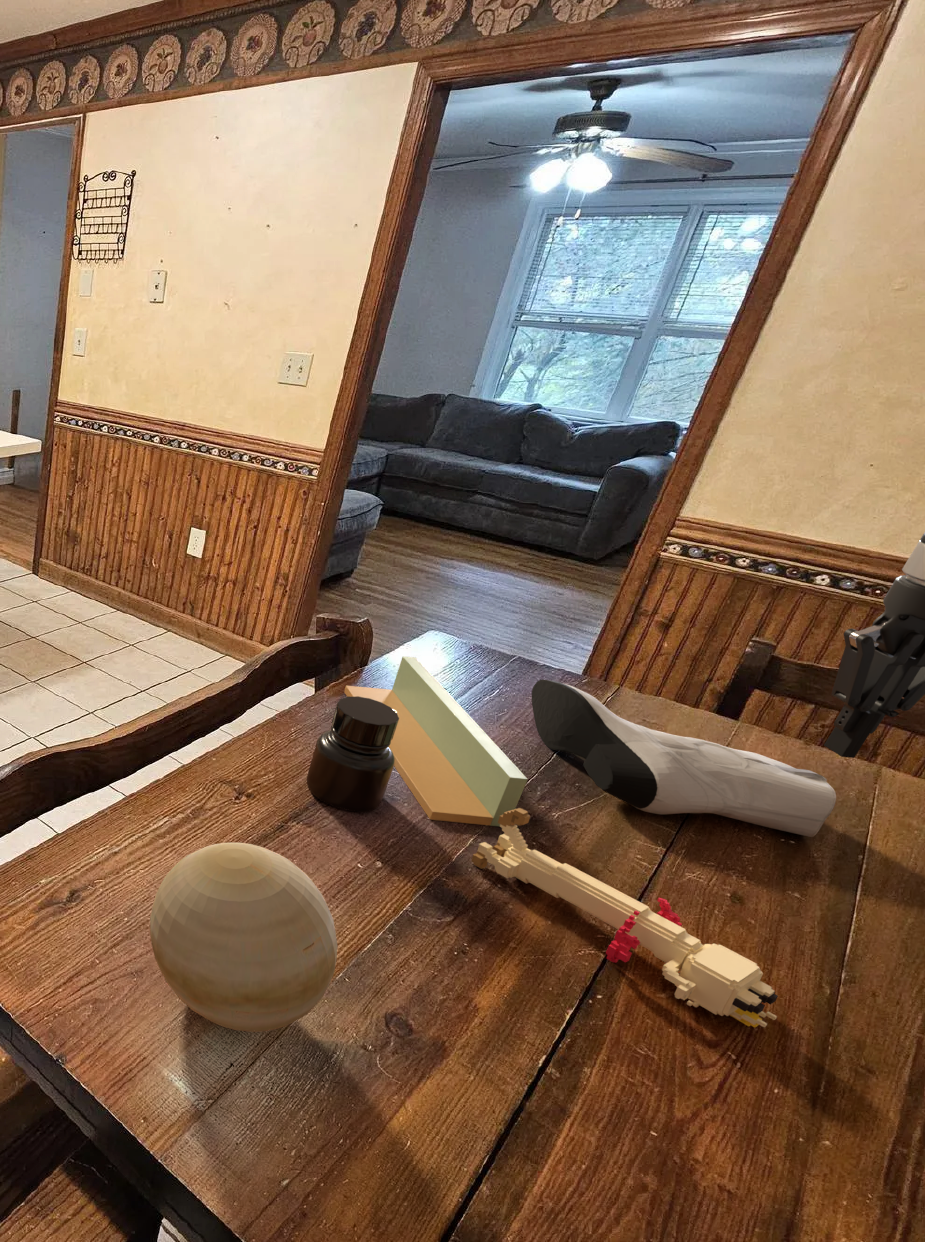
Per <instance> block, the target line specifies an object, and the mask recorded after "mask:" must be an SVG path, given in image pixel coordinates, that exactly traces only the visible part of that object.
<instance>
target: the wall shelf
mask: <svg viewBox="0 0 925 1242" xmlns="http://www.w3.org/2000/svg"><path fill="white" fill-rule="evenodd" d="M343 692H344V694H345V697H348V696H349V697H356V696H359V697H364V698H370V699H373V700H376V701H379V702H382V703H383V704H385V705H387V706H389V707H391V708H392V709H393V710H394V711H395V712H397V714H398V717H399V721H398V724H397V727H396V730H395V733H394V736H393V739H392V740H391V744H390V746H389V748H390V749H391V751H392V752H393V755H394V758H395V763H394V767H393V768H394V769H395V770H396V771H397V773H398V775H399V776H400V777H401V779H402V781H403V782H404V784H405V785H406V786H407V788H408V789H409V790H410V792H411V793H412V795H413V797H414V799H416V801H417V802H418V804H419V806H420V807H421V808H422V810H423V811H424V813H425V814H426V817H428V819H429V820H431V821H440V822H450V823H460V824H461V823H462V824H472V825H481V826H491V827H500V824H499V823H498V820H499V817H500V816H501V815H503V814H504V812H507V811H510V810H514V809H517V806H518V804H519V801H520V799H521V796H522V795H523V792H524V790H525V787H526V785H527V782H528V780H529V779H528V778H527V776H526V775H525V774H523V772H522V771H521V770H520V769H519V768H518V767H517V766H516V764H515V763H514V762H513V761H512V760H511V759H510V758H509V757H508V755H506V754H505V752H503V750H501V748H500V747H499V746H498V745H497V744H496V742H495V741H493V739H491V737H490V736H489V735H488V734H487V733H486V732H485V731H484V730H483V729H482V727H481V726H479V724H478V723H477V722H476V721H475V720H474V719H473V718H472V717H471V716H470V715H469V713H468V712H467V711H465V709H464V708H463V707H462V706H461V705H460V704H459V703H458V701H456V700H455V698H454V697H453V696H452V694H450V693H449V691H447V690H446V689H445V688H444V686H443V685H442V684H441V683H440V682H439V681H438V679H436V678H435V676H434V675H432V673H431V672H430V670H428V669H427V668H426V666H424V665H423V663H422V662H421V661H420V660H419V659H418V658H417V657H416V656H415V657H414V656H402V657H401V660H400V663H399V666H398V669H397V673H396V676H395V679H394V682H393V685H392V689H389V688H380V687H379V688H378V687H368V686H367V687H365V686H355V685H345V688H344V690H343Z"/></svg>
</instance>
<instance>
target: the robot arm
mask: <svg viewBox="0 0 925 1242" xmlns="http://www.w3.org/2000/svg"><path fill="white" fill-rule="evenodd" d="M901 570H902V572H903V573H904V574H903V575H900V576H898V577H896V578H895V580H894V581H893V583H892V584H891V586H890V588H889V590H888V591H887V593H886V595H885V596H884V598H883V600H882V603H883V604H884V605H883V606H884V611H883V612H882V614H881V615H880V616H878V617H877V618H875V619H874V621H873V622H872V625H871V626H868V627H866V628H862V629H860V630H857V629H855V628H848V629H846V630H845V631H844V632H843V639H844V645H845V646H844V650H843V654H842V657H841V660H840V663H839V667H838V670H837V674H836V677H835V680H834V683H833V684H834V685H833V687H832V690H831V695H830V696H831V697H833V698H835V699H836V700H838V701H840V702H842V703H843V707H842V708H841V710H840V712H839V714H838V715H837V716H836V719H835V720H834V721H833V726H834V727H833V730H831V732H830V734H829V736H828V737H827V739H826V741H825V743H824V744H823V746H824V747H825V748H826V749H829V750H830V751H832V752H833V753H835V754H836V755H838V756H840V757H842V758H850V759H854V758H855V757H856V756H857V755H858V753H859V751H860V749H861V748H862V746H863V745H864V743H865V742H866V741H867V739H868V737H869V736H870V735H872V734H873V733H874V732H875V731H876V730H877V729H878V727H879V726H880V724H881V723H882V721H883V719H884V718H885V717H886V716H888V717H890V718H895V717H897V716H899V715H900V713H899V712H897V711H898V710H900V711H903V712H907V711H910V710H911V709H912V708H913V707H914V706H915V705H916V704H917V703H918V702H919V701H920V700H921V699H922V698H923V697H924V696H925V532H924V533H923V534H922V535H921V537H920V539H919V541H918V542H917V543H916V545H915V547H914V549H913V550H912V552H911V554H910V555H909V557H908V558H907V560H906V562H905V564H904V565H903V567H902V568H901ZM896 710H897V711H896Z"/></svg>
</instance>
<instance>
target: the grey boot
mask: <svg viewBox="0 0 925 1242" xmlns="http://www.w3.org/2000/svg"><path fill="white" fill-rule="evenodd" d="M531 705H532V713H533V718H534V723H535V727H536V730H537V733H538V736H539V737H540V739H541V741H542V742H543V744H544V745H545V746H546V747H547V748H549V749H550V750H552V751H557V752H562V753H568V754H573V755H574V756H576V757H577V758H578V759H581V760H582V761H583V764H582V767H584V770H585V771H586V773H587V775H588V776H589V777H590V778H591V779H592V780H593V782H594V784H595V786H596V787H598V788H600V789H601V790H602V791H603V792H605V793H607V794H609V795H611V796H613V797H615V798H617V799H619V800H620V801H622V802H624V803H626V804H628V805H630V806H631V807H634V808H636V809H637V810H639V811H643V812H645V813H650V814H656V815H676V814H714V815H718V816H721V817H726V818H730V819H734V820H738V821H741V822H744V823H748V824H753V825H756V826H762V827H765V828H769V829H772V830H773V829H774V830H778V831H782V832H787V833H791V834H795V835H800V836H804V837H808V838H813V837H815V836H816V835H817V834H818V832H819V831H820V830H821V828H822V827H823V824H824V823H825V822H826V820H827V819H828V818H829V816H830V815H831V813H833V810H834V808H835V806H836V802H837V794H836V791H835V788H833V787H832V786H831V785H830V783H828V779H827V778H826V777H825V776H823V775H821V774H820V773H817V772H814V771H812V770H809V769H805V768H796V767H793V766H791V765H789V764H787V763H785V762H782V761H779V760H776V759H773V758H771V757H768V756H765V755H763V754H760V753H756V752H754V751H753V752H752V751H748V750H741V749H736V748H732V747H729V746H725V745H722V744H720V743H718V742H717V743H716V742H712V741H709V740H706V739H705V740H704V739H701V738H695V737H691V736H682V735H676V734H671V733H668V732H665V731H660V730H656V729H652V728H648V727H646V726H644V725H641V724H637V723H634V722H632V721H630V720H627V719H624V718H623V717H620V716H618V715H617V714H615V713H614V712H612V711H611V710H610V709H609V708H608V707H607V706H606V705H604V704H603V703H602V702H601V701H600V700H599V699H597V698H596V697H594V696H593V695H592V694H590V693H588V692H586V691H583V690H581V689H579V688H578V687H575V686H572V685H570V684H566V683H562V682H560V681H556V680H552V679H551V680H550V679H543V678H542V679H539V680H537V681H536V683H535V684H533V686H532V689H531Z"/></svg>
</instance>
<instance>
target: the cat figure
mask: <svg viewBox="0 0 925 1242" xmlns="http://www.w3.org/2000/svg"><path fill="white" fill-rule="evenodd" d="M530 818H531V815H529V811H527V810H526V809H524V808H521V807H518V808H515V809H514V810H510V811H507V812H504V814H503V815H501V816H500V817H499V820H498V823H499V824H500V826H499V828H501V831H502V832H503V834H500V835H499V836H498V839H497V842H496V844H495V845H491V844H489V843H487V842H486V841H483V842H481V843H478V847H477V850H476V852H475V853H473V854H472V857H471V860H470V861H471V863H473V865H474V866H475V867H477V868H479V869H480V870H481V869H482V870H483V869H485V868H487V866H488V864H490V865H492V866H494V868H493V869H494V870H495V872H496V873H497V875H500V876H502V877H504V878H505V879H513V878H516V879H518V880H519V881H521V882H523V883H525V884H531V885H533V886H535V887H536V888H538V889H540V890H542V891H544V892H545V893H547V894H549V895H551V896H552V897H555V898H556V899H560V898H561V899H563V900H565V901H567V902H568V903H570V904H572V905H573V906H575V907H577V908H579V909H581V910H582V911H584V912H586V913H587V914H590V915H592V916H593V917H595V918H597V919H598V920H600V921H602V922H604V923H606V924H607V925H609V926H611V927H612V928H615V929H616V932H615V935H614V938H613V940H611V942H610V944H608V946H607V947H606V948H607V949H606V951H605V954H606V959H607V960H608V961H610V962H612V963H615V964H617V963H618V962H619V960H620V961H622V962H623V963H627V962H629V961H630V959H631V958H632V957H631V956H632V955H633V952H631V949H633V950H636V949H637V948H638V946H641V947H643V948H644V949H647V950H648V951H650V952H652V954H653V956H654V957H655V958H657V959H658V960H661V961H662V962H663V963H664V964H663V966H662V968H661V971H662V973H661V975H662V976H664V979H665V980H667V981H669V982H670V983H672V984H674V986H676V989H675V991H674V993H673V994H674V998H675V999H676V1000H677V999H678V1000H680V999H681V1000H682V1001H685V1000H688V1001H686V1005H687V1006H689V1007H691V1006H692V1007H694V1008H698V1007H699V1006H700V1007H702V1008H704V1009H705V1010H707V1011H709V1012H710V1013H711V1014H714V1015H715V1016H716V1015H718V1016H721V1017H724V1016H726V1017H729V1016H730V1017H731V1018H733V1019H735V1020H736V1021H738V1022H740V1023H742V1024H744V1025H745V1026H747V1027H753V1028H754V1029H755V1028H757V1027H758V1026H760V1027H762V1028H766V1027H767V1026H768V1022H765V1021H764V1020H763V1018H766V1017H767V1018H770V1019H771V1020H773V1021H775V1020H776V1019H777V1018H778V1016H777V1015H775V1014H773V1013H772V1012H771V1011H769V1010H768V1011H767V1012H765V1011H763V1010H764V1008H765V1007H766V1005H765V1003H766V1004H768V1005H772V1004H774V1003H775V1002H776V1001H777V999H778V997H779V996H778V995H777V994H775V993H776V990H775V989H773V986H770V985H769V984H767V983H765V982H763V981H762V980H761V979H762V978H763V975H764V973H763V971H762V970H761V967H760V966H758V963H757V962H754V961H752V960H750V959H749V958H747V957H745V956H744V955H741V954H740V953H737V952H736V951H733V950H732V949H730V948H728V947H726V946H723V945H722V944H720V943H719V944H716V943H712V944H710V943H704V944H703V943H702V942H701V939H699V938H697V937H695V936H693V935H691V934H689V933H688V932H687V930H686V928H684V927H682V926H683V923H682V922H681V917H680V916H679V914H678V913H676V912H674V911H673V909H672V906H671V903H670V902H669V900H667V899H666V898H662V897H658V898H657V900H656V901H657V902H658V903H659V905H658V906H659V907H660V908H659V909H660V910H659V911H657V912H656V913H655V912H654V911H652V910H651V908H650V906H648V905H646V904H645V903H643V902H640V901H639V900H637V899H635V898H633V897H631V896H629V895H627V894H626V893H623V892H621V891H620V890H618V889H616V888H614V887H612V886H610V885H609V884H607V883H604V882H603V881H601V880H599V879H597V878H595V877H593V876H591V875H589V874H588V873H585V872H584V871H581V870H580V869H578V868H576V867H575V866H572V865H570V864H568V863H566V862H564V863H561V862H559V861H557V860H555V859H554V858H551V857H550V856H549V855H546V854H544V853H542V852H540V851H539V850H537V849H530V848H528V846H529V845H528V844H527V843H526V842H527V841H526V840H525V839H524V836H523V835H522V832H520V829H519V828H518V826H519V827H521V826H525V825H527V824H529V822H530ZM678 972H679V973H678Z"/></svg>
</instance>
